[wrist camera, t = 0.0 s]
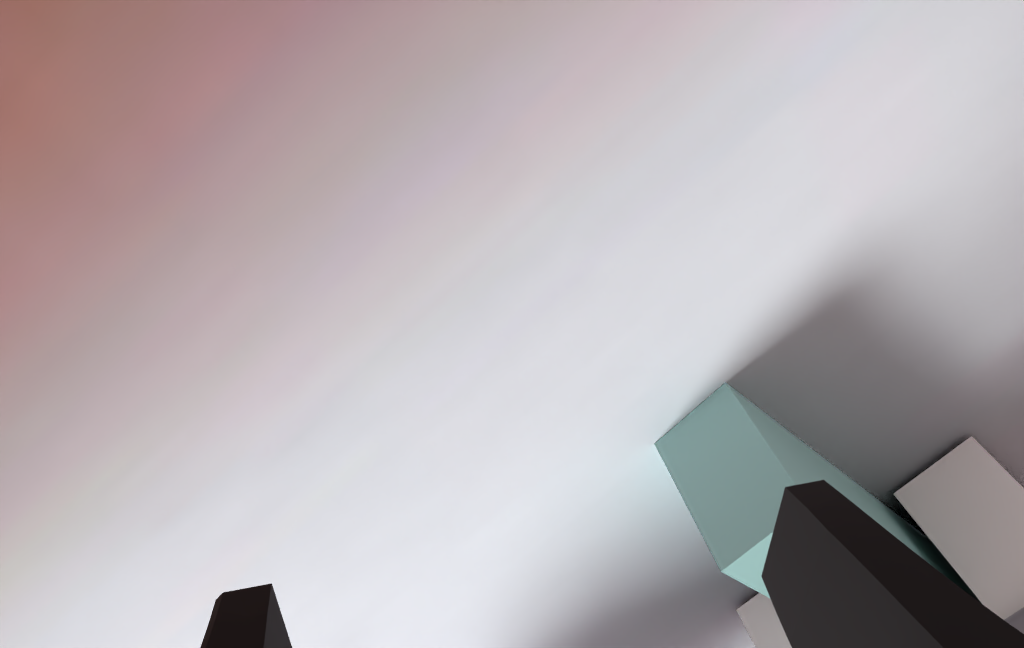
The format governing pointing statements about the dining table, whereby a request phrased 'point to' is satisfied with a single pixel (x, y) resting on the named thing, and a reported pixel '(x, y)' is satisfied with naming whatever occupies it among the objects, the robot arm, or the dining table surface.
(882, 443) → the dining table surface
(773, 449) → the mint green rectangular block
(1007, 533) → the white box
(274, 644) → the robot arm
